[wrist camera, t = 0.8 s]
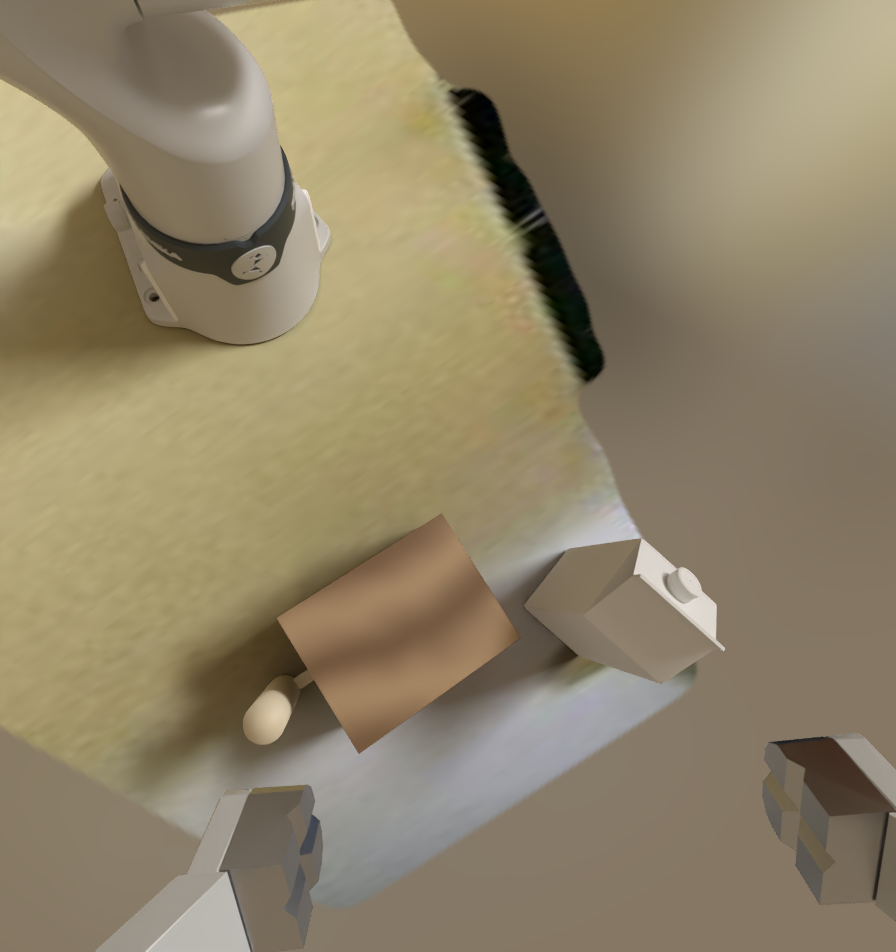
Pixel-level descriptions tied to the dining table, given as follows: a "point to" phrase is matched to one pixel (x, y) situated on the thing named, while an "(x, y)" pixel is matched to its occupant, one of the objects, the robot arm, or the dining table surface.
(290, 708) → the cream rounded block
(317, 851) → the robot arm
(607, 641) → the milk carton
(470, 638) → the walnut cubby
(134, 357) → the dining table surface
